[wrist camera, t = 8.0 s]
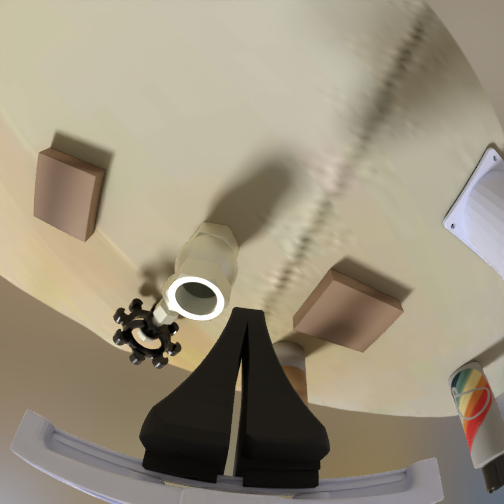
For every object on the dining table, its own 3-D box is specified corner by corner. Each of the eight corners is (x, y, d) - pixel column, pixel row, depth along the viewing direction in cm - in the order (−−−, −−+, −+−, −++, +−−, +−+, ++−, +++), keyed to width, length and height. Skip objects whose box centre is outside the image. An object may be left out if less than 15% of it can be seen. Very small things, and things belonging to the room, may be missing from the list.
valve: (195, 196, 20) (127, 291, 26) (166, 243, 15) (98, 342, 20) (265, 250, 22) (184, 328, 28) (263, 309, 17) (167, 383, 22)
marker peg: (311, 348, 28) (318, 418, 21) (291, 368, 30) (293, 434, 23) (276, 336, 27) (276, 409, 20) (258, 358, 29) (254, 426, 22)
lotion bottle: (451, 368, 30) (490, 494, 13) (483, 355, 29) (527, 472, 12) (444, 388, 33) (474, 501, 16) (474, 376, 32) (509, 482, 15)
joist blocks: (398, 300, 24) (403, 311, 23) (360, 341, 27) (363, 352, 26) (49, 147, 18) (38, 152, 17) (43, 208, 21) (33, 215, 20)
